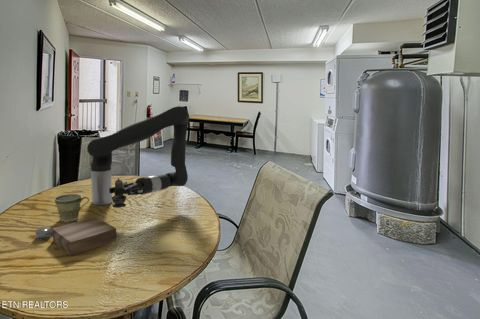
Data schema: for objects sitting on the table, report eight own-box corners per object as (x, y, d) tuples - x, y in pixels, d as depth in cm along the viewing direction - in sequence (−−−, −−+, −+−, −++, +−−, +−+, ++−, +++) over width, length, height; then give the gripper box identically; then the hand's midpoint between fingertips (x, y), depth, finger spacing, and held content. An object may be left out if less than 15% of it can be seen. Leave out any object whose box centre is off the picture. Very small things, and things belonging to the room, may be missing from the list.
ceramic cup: (55, 225, 125) (53, 202, 123) (57, 216, 134) (55, 195, 132) (90, 220, 131) (89, 198, 129) (89, 212, 140) (88, 192, 138)
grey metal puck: (34, 237, 114) (33, 229, 113) (48, 233, 118) (48, 226, 117) (38, 241, 111) (38, 233, 110) (53, 237, 114) (53, 229, 114)
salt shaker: (114, 203, 129) (113, 176, 127) (128, 203, 130) (127, 176, 128) (109, 207, 124) (108, 179, 121) (124, 208, 124) (123, 180, 122)
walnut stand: (53, 241, 111) (52, 228, 110) (96, 228, 123) (95, 216, 122) (71, 256, 101) (70, 242, 100) (116, 240, 113) (116, 228, 113)
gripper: (139, 173, 140) (103, 179, 127) (158, 179, 131) (121, 187, 118) (139, 189, 142) (104, 196, 128) (157, 196, 133) (121, 205, 120)
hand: (112, 191), depth 123 cm, fingers closed on salt shaker, 3 cm apart
